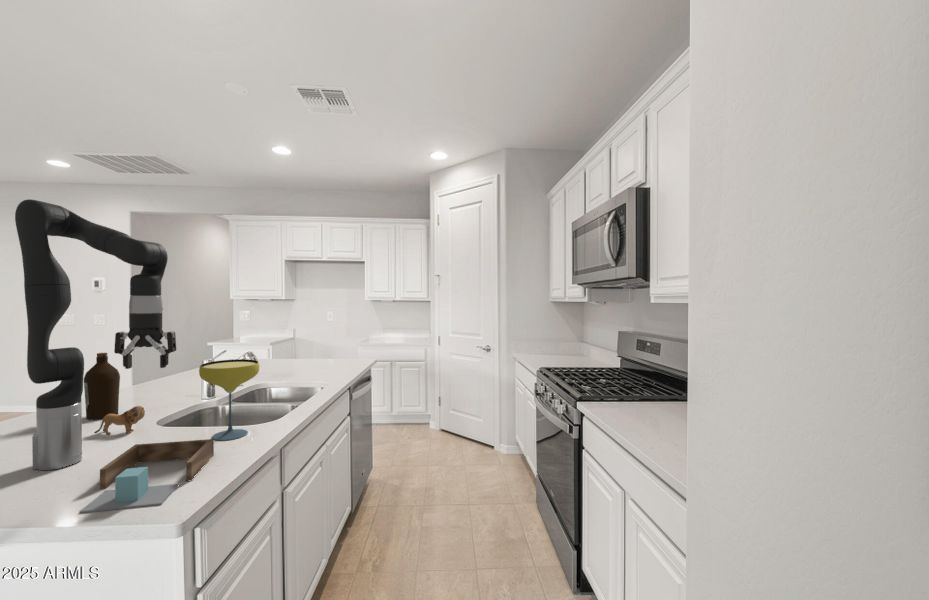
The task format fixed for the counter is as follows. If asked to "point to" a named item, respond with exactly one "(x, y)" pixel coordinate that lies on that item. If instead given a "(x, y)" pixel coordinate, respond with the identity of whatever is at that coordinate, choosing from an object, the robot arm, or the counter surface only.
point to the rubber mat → (150, 498)
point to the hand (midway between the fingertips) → (146, 367)
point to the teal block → (131, 484)
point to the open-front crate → (160, 457)
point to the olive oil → (101, 389)
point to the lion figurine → (123, 419)
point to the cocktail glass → (229, 385)
